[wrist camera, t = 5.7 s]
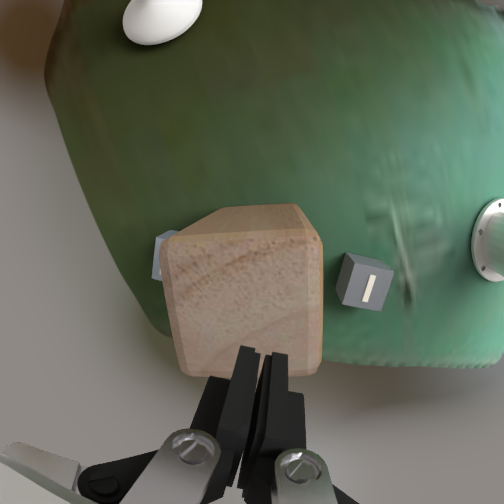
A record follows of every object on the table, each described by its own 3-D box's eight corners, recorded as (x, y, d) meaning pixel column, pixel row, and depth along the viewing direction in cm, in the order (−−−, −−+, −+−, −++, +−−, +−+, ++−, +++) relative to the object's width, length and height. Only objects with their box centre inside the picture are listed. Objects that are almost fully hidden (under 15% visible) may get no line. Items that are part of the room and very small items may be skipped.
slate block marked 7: (208, 237, 38) (197, 246, 33) (202, 275, 39) (191, 289, 34) (170, 229, 38) (155, 237, 33) (166, 266, 39) (151, 278, 34)
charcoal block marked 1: (380, 260, 36) (394, 272, 31) (369, 295, 38) (381, 312, 33) (345, 251, 37) (355, 263, 32) (334, 288, 38) (342, 305, 33)
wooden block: (302, 281, 38) (322, 380, 19) (224, 285, 39) (177, 380, 20) (299, 201, 36) (324, 230, 16) (216, 207, 37) (149, 240, 17)
